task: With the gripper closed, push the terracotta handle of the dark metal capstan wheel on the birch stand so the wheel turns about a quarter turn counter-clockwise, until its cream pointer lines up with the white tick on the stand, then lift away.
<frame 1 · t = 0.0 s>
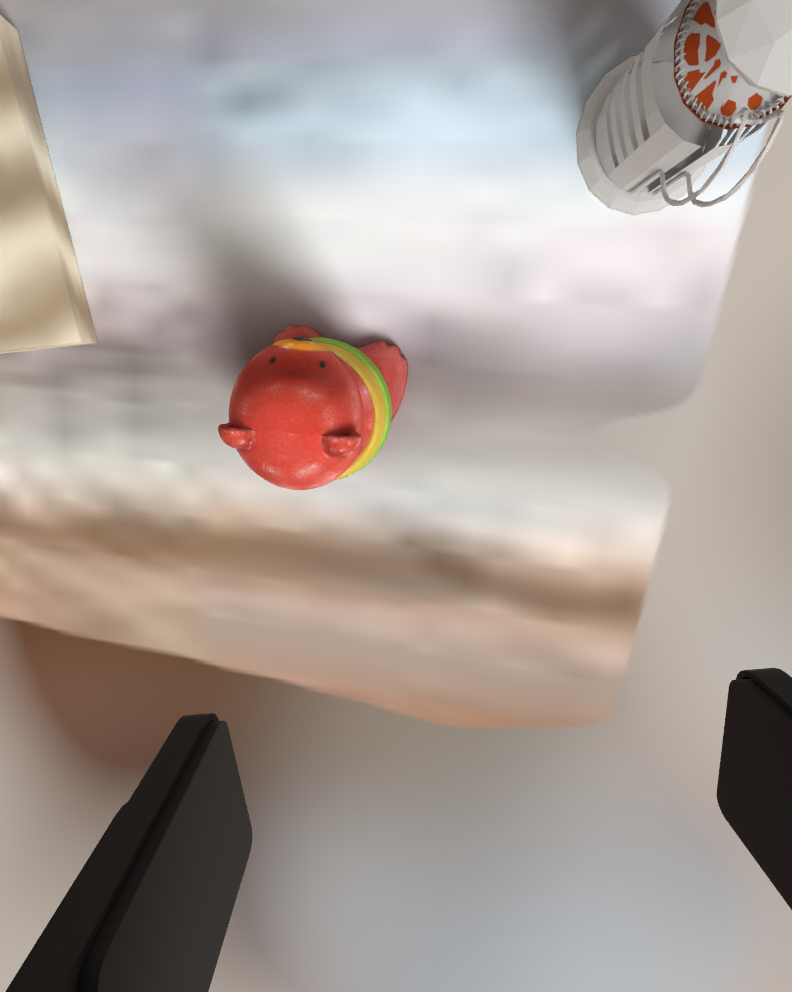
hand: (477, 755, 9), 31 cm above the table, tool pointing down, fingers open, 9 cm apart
french press: (642, 152, 33), on the table
stacking bear: (335, 398, 38), on the table
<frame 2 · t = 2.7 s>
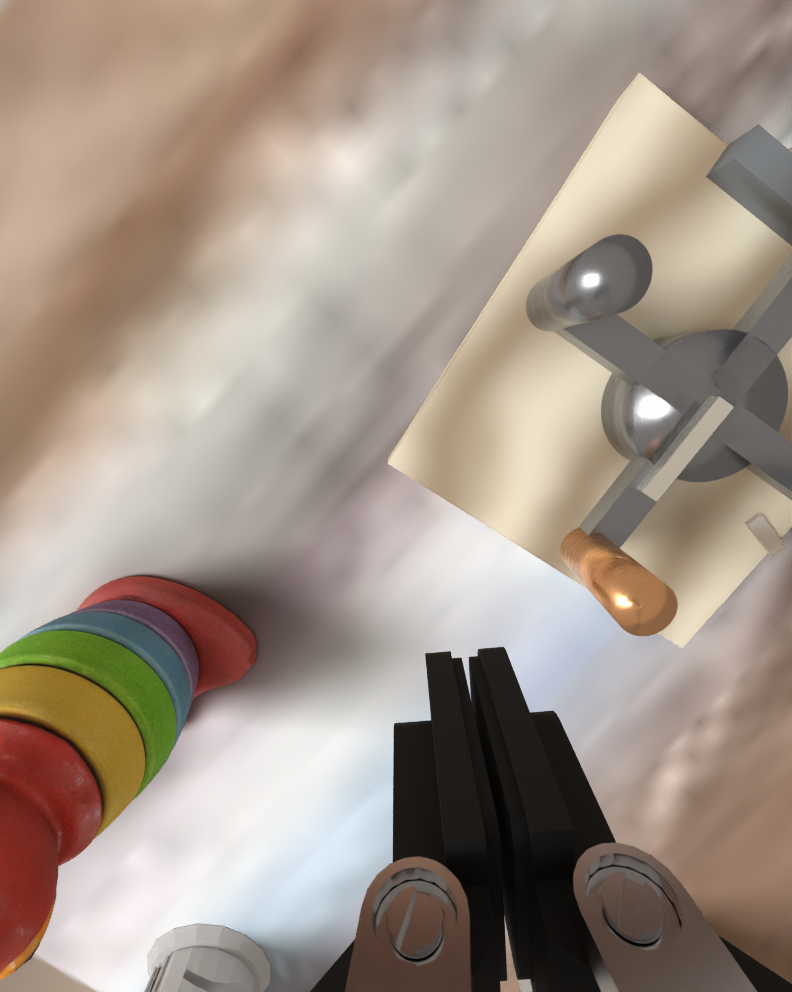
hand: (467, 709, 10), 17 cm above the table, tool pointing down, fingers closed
french press: (200, 960, 37), on the table
stacking bear: (157, 642, 29), on the table
capstan: (722, 410, 19), point 6 cm above the table, hinge at 0.0°
stand: (643, 401, 25), on the table
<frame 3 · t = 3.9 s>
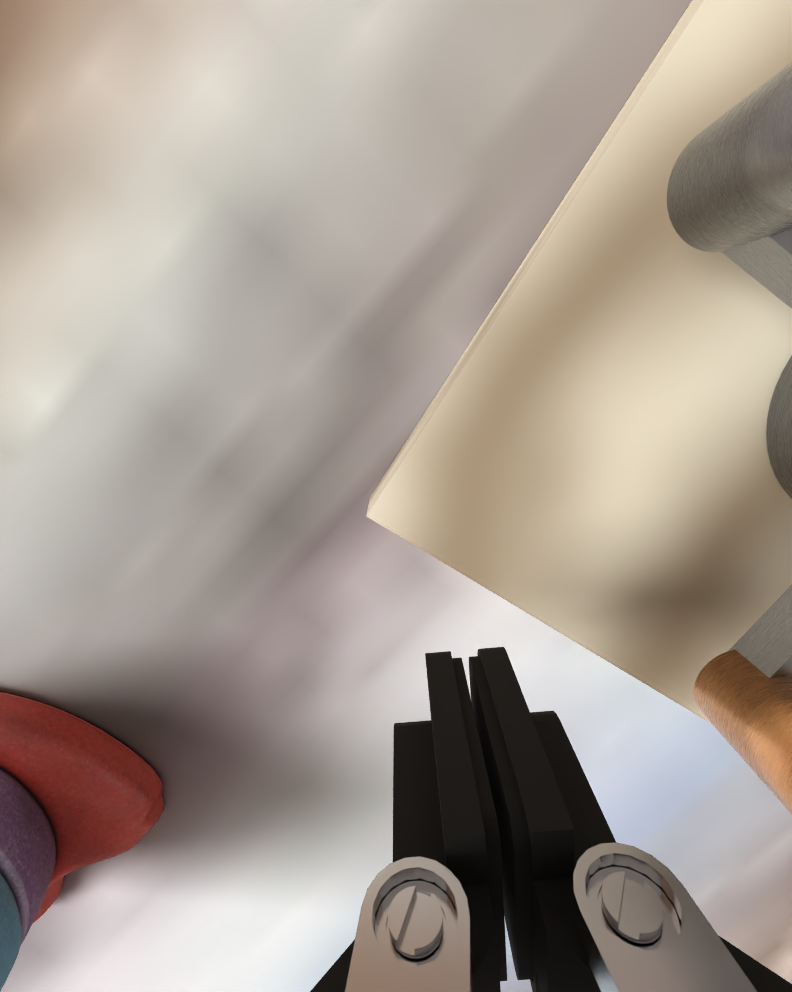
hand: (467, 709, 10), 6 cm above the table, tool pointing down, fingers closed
stacking bear: (7, 781, 19), on the table
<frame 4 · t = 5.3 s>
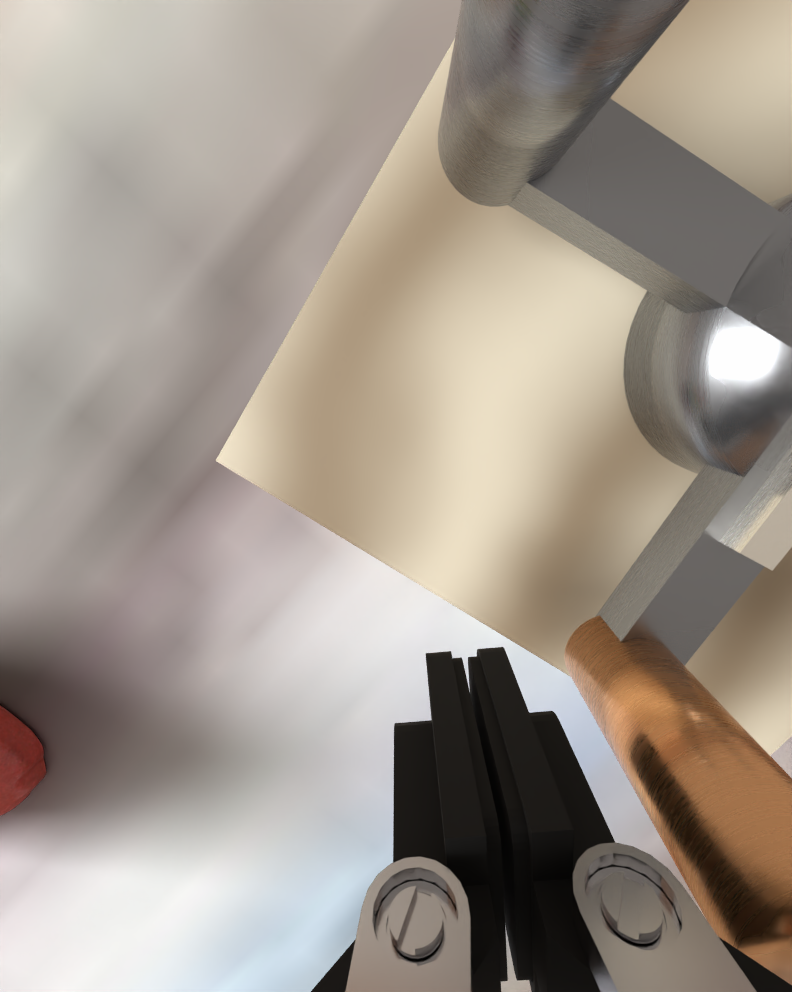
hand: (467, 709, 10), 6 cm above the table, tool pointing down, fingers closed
stand: (696, 354, 14), on the table
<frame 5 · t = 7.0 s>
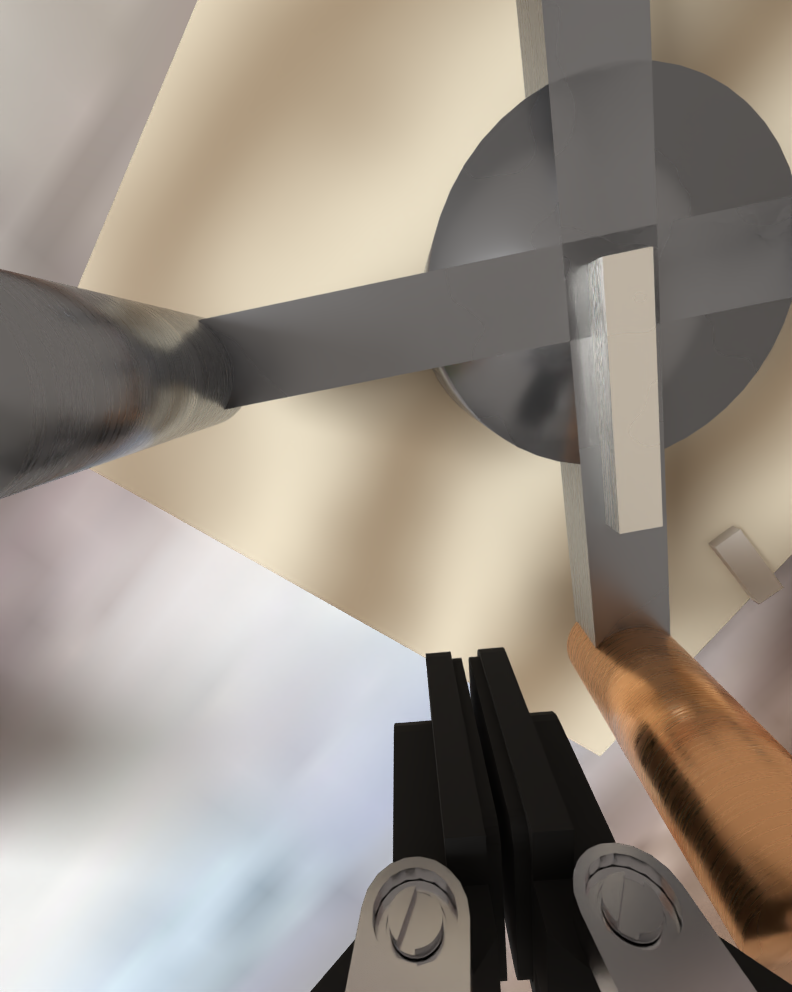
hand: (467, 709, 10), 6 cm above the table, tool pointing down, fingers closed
capstan: (633, 276, 7), point 6 cm above the table, hinge at 43.6°, touching gripper
stand: (525, 315, 13), on the table
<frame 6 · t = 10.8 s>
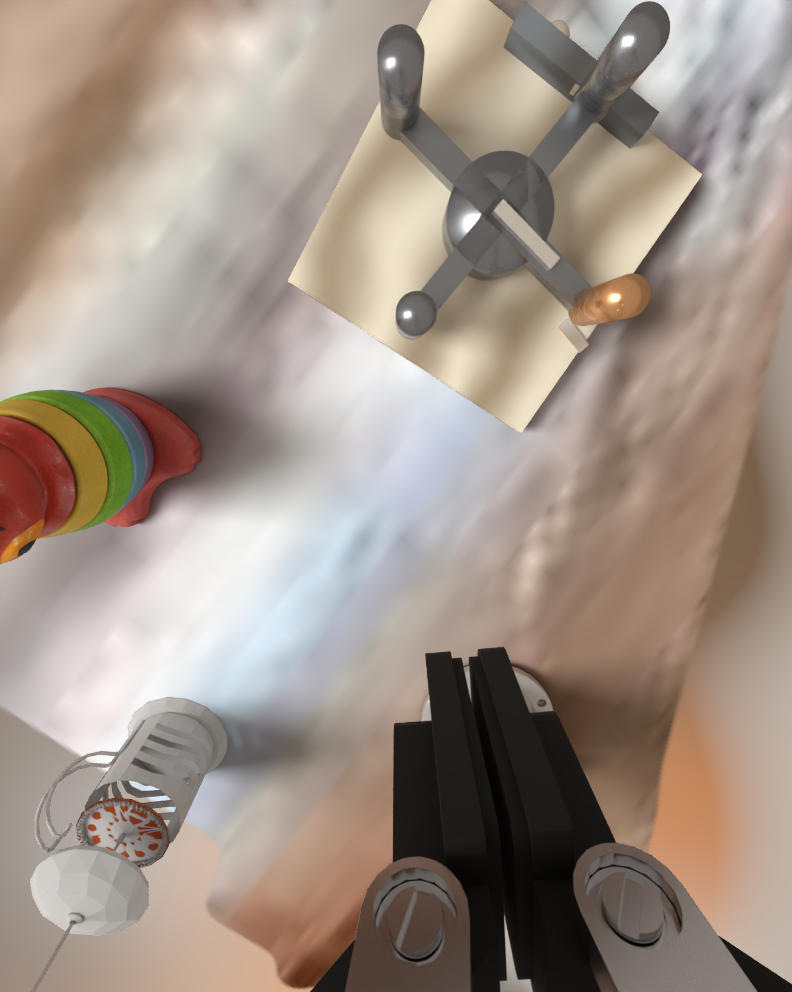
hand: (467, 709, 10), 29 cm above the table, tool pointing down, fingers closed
french press: (171, 732, 46), on the table
stacking bear: (123, 447, 38), on the table
capstan: (503, 208, 27), point 6 cm above the table, hinge at 81.3°
stand: (483, 236, 33), on the table
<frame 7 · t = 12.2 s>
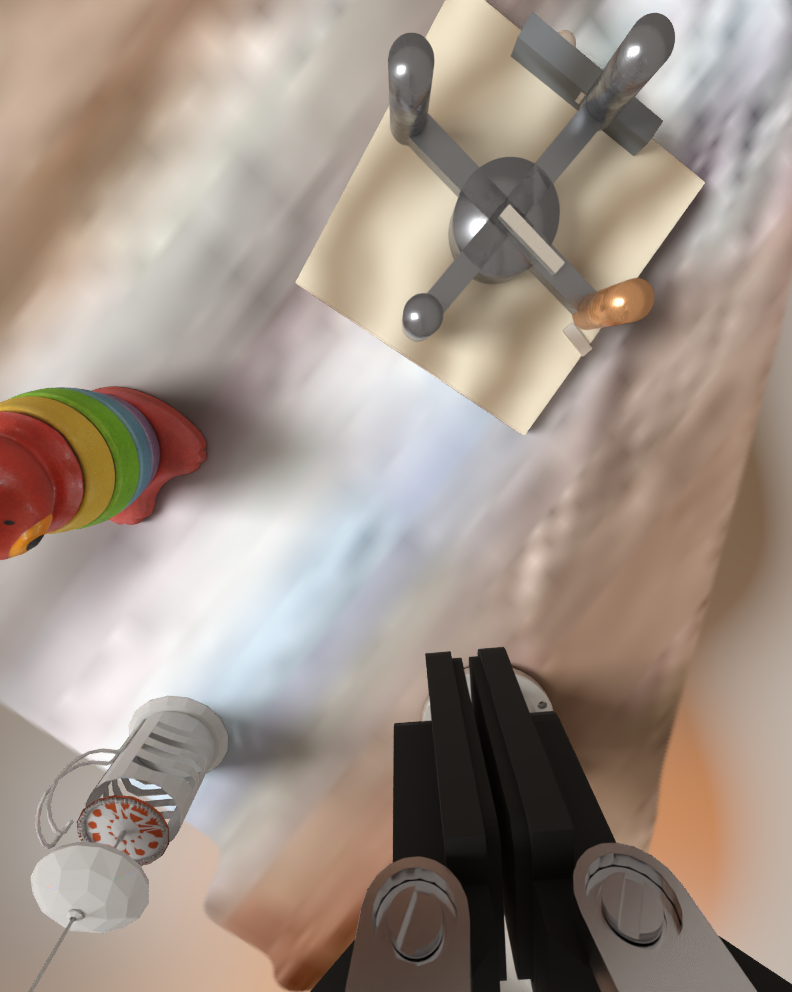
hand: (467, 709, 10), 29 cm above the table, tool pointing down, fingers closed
french press: (172, 731, 46), on the table
stacking bear: (129, 446, 38), on the table
capstan: (509, 213, 27), point 6 cm above the table, hinge at 81.3°
stand: (489, 241, 34), on the table
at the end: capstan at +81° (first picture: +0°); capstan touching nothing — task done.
